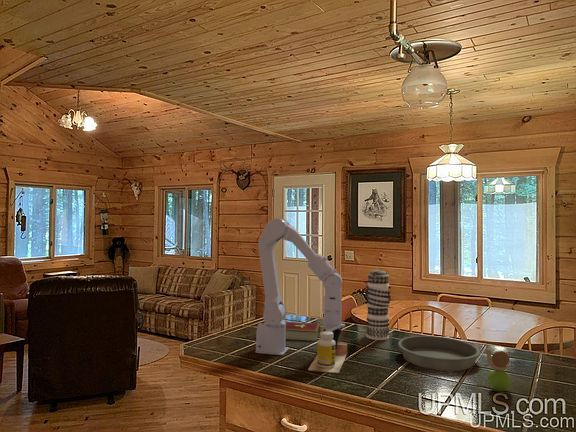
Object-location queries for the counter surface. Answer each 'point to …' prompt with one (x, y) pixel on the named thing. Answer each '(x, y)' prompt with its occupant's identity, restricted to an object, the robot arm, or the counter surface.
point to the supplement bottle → (326, 350)
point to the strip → (339, 359)
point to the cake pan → (438, 352)
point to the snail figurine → (498, 370)
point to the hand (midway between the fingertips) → (332, 351)
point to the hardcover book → (302, 331)
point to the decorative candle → (377, 305)
